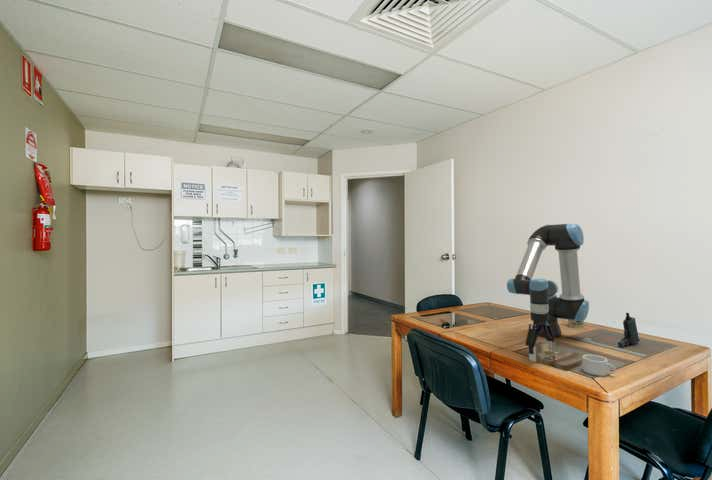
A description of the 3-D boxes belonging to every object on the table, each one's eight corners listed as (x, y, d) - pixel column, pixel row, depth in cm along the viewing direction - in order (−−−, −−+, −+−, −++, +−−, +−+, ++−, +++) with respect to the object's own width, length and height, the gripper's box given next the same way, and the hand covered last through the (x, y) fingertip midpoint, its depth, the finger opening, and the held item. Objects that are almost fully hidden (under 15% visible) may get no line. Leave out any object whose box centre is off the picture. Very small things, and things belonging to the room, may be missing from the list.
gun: (612, 320, 168) (628, 309, 174) (618, 351, 169) (634, 339, 175) (618, 321, 165) (634, 310, 171) (624, 352, 167) (640, 340, 173)
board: (543, 363, 150) (543, 359, 150) (566, 354, 160) (566, 350, 160) (567, 370, 141) (567, 366, 141) (589, 360, 152) (589, 356, 152)
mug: (577, 371, 141) (577, 357, 141) (586, 365, 146) (586, 352, 146) (611, 380, 131) (611, 365, 131) (619, 374, 137) (619, 359, 137)
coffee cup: (571, 328, 204) (570, 309, 204) (564, 324, 213) (563, 306, 213) (588, 328, 202) (587, 309, 202) (580, 324, 212) (579, 306, 212)
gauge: (532, 360, 155) (532, 343, 155) (538, 357, 157) (538, 341, 157) (554, 366, 146) (553, 348, 146) (560, 364, 149) (559, 346, 149)
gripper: (531, 317, 144) (533, 366, 144) (562, 309, 157) (563, 354, 157) (515, 314, 151) (517, 360, 151) (546, 307, 163) (547, 349, 164)
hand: (540, 357), depth 154 cm, fingers open, 13 cm apart
